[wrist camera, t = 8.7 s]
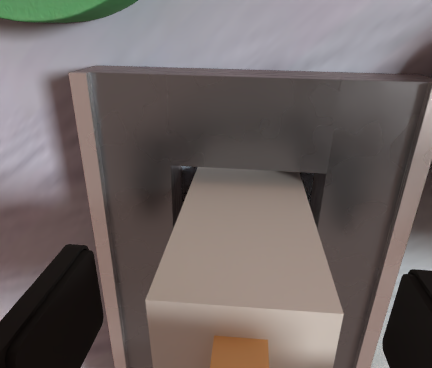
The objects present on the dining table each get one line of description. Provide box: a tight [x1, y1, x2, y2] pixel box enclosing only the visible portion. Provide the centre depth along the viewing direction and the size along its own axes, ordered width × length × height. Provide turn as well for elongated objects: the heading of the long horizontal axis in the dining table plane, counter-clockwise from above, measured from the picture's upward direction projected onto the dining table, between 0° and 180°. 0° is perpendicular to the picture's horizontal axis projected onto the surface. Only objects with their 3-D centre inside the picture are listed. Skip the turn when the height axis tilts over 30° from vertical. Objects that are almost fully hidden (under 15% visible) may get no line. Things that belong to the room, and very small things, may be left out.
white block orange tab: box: [145, 167, 344, 368], centre depth 11 cm, size 4×4×9 cm
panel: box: [68, 66, 432, 368], centre depth 18 cm, size 12×28×2 cm, turn 179°
